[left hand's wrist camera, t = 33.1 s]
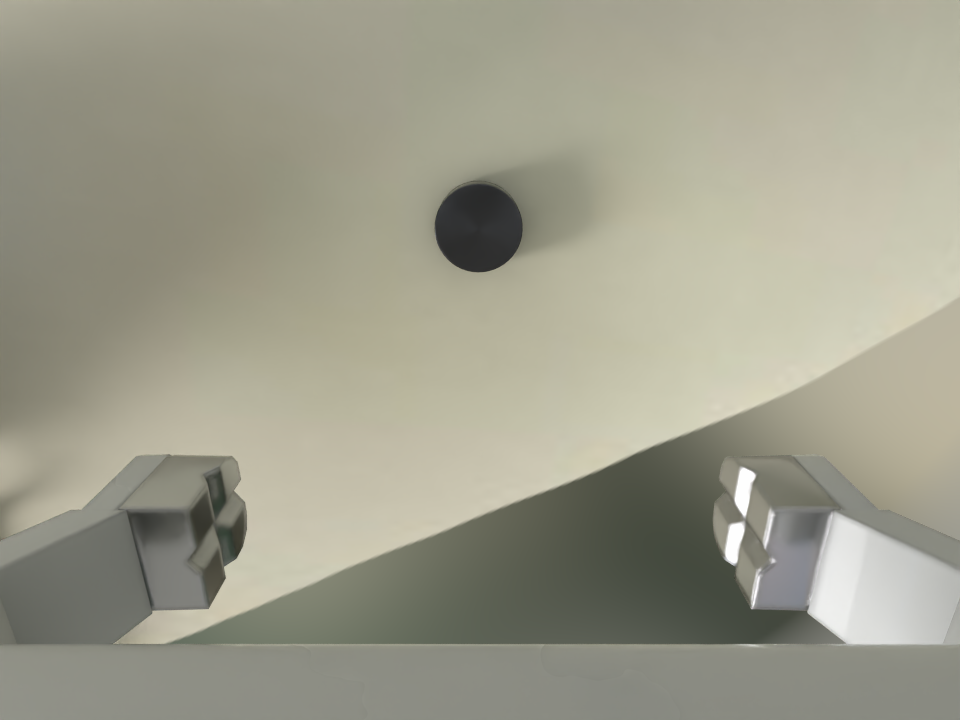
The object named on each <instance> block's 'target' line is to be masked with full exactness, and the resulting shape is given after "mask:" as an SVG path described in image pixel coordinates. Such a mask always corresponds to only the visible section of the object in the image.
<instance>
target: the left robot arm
mask: <svg viewBox="0 0 960 720" xmlns="http://www.w3.org/2000/svg"><path fill="white" fill-rule="evenodd" d="M240 480H241V477H240V472H239V467H238V462H237V461H236V460H235V459H234V458H233V457H232V456H201V455H170V454H166V455H141V456H136V457H135V458H134V459H133V460H132V461H131V462H130V463H129V464H128V465H127V466H126V467H125V468H124V469H123V470H122V471H121V472H120V473H119V474H118V475H117V476H116V477H115V478H114V479H112V480H111V481H110V482H109V483H108V484H107V485H106V486H105V487H104V488H103V489H102V490H101V491H100V492H99V493H98V494H97V495H96V496H95V497H94V498H93V499H92V500H91V501H90V502H89V503H88V504H87V505H86V506H85V507H84V508H83V509H82V510H70V511H68V512H65V513H63V514H61V515H58V516H56V517H54V518H51V519H49V520H47V521H44V522H42V523H40V524H37V525H35V526H33V527H31V528H28V529H26V530H24V531H21V532H19V533H17V534H14V535H12V536H10V537H7V538H5V539H3V540H0V720H960V541H959V540H957V539H955V538H952V537H950V536H948V535H945V534H943V533H941V532H939V531H936V530H934V529H932V528H929V527H927V526H925V525H922V524H920V523H918V522H916V521H913V520H911V519H909V518H906V517H904V516H902V515H899V514H897V513H895V512H892V511H890V510H878V509H877V508H876V507H875V506H874V505H873V504H872V503H871V502H870V501H869V500H868V499H867V498H866V497H865V496H864V495H863V494H862V493H861V492H860V491H859V490H858V489H857V488H856V487H855V486H854V485H853V484H852V483H851V482H850V481H849V480H848V479H847V478H846V477H845V476H844V475H843V474H841V473H840V472H839V471H838V470H837V469H836V468H835V467H834V466H833V465H832V464H831V463H830V462H829V461H828V460H827V459H826V458H825V457H823V456H820V455H817V454H811V455H778V456H737V457H726V458H725V460H724V462H723V464H722V466H721V471H720V476H719V480H720V482H721V483H722V485H723V486H724V488H725V489H726V491H725V493H724V494H723V495H722V496H721V497H720V498H719V499H718V500H717V501H716V502H715V507H714V514H713V527H714V537H715V540H716V543H717V547H718V549H719V551H720V553H721V555H722V557H723V558H724V559H725V560H727V561H728V562H730V563H731V564H733V565H734V566H736V571H735V577H734V579H735V580H736V582H737V584H738V586H739V587H740V589H741V591H742V593H743V594H744V596H745V598H746V600H747V602H748V603H749V605H750V607H751V609H770V610H807V611H808V614H810V615H811V616H812V617H813V618H815V619H816V620H817V621H819V622H820V623H821V624H822V625H824V626H825V627H826V628H828V629H829V630H830V631H831V632H833V633H834V634H835V635H837V636H838V637H839V638H840V639H842V640H843V641H844V642H846V643H847V644H113V643H115V642H116V641H117V640H118V639H120V638H121V637H122V636H124V635H125V634H126V633H127V632H129V631H130V630H131V629H133V628H134V627H135V626H137V625H138V624H139V623H140V622H142V621H143V620H144V619H146V618H147V617H148V616H150V615H151V614H152V611H153V610H188V609H209V607H210V605H211V604H212V602H213V600H214V598H215V596H216V595H217V593H218V591H219V589H220V587H221V586H222V584H223V582H224V580H225V578H226V577H225V571H224V566H226V565H227V564H229V563H230V562H232V561H234V560H235V559H236V558H237V557H238V555H239V553H240V551H241V549H242V547H243V543H244V539H245V535H246V530H247V512H246V506H245V502H244V501H243V500H242V499H241V498H240V497H239V496H238V495H237V494H236V493H235V491H234V489H235V488H236V486H237V485H238V483H239V482H240Z"/></svg>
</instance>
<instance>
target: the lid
mask: <svg viewBox="0 0 960 720" xmlns="http://www.w3.org/2000/svg"><path fill="white" fill-rule="evenodd" d="M435 236H436V240H437V243H438V246H439V248H440V250H441V251H442V253H443V254H444V256H445V257H446V258H447V259H448V260H449V261H450V262H451V263H453V264H454V265H456V266H457V267H459V268H461V269H464V270H467V271H471V272H486V271H490V270H494V269H496V268H498V267H500V266H502V265H503V264H505V263H506V262H507V261H508V260H509V259H510V258H511V257H512V256H513V255H514V253H515V252H516V250H517V248H518V246H519V244H520V241H521V237H522V219H521V215H520V212H519V210H518V207H517V205H516V203H515V201H514V200H513V198H512V197H511V196H510V195H509V194H508V193H507V192H506V191H505V190H504V189H503V188H501V187H499V186H498V185H496V184H493V183H490V182H486V181H472V182H467V183H464V184H462V185H460V186H458V187H456V188H455V189H453V190H452V191H451V192H450V193H449V194H448V195H447V196H446V197H445V199H444V200H443V202H442V204H441V206H440V208H439V210H438V213H437V216H436V220H435Z"/></svg>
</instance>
